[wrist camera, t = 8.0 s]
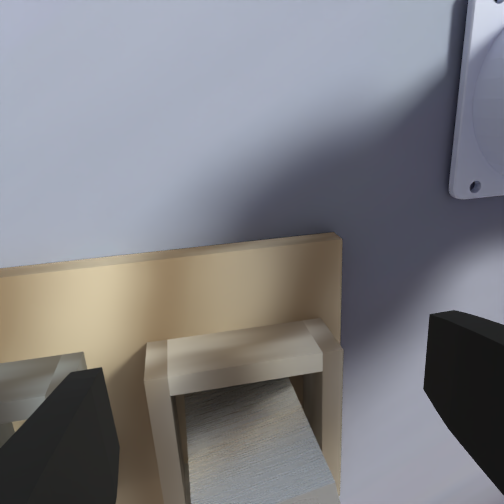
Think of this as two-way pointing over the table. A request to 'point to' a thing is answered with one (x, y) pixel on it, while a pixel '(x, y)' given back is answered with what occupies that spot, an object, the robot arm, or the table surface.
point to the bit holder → (177, 342)
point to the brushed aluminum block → (254, 447)
